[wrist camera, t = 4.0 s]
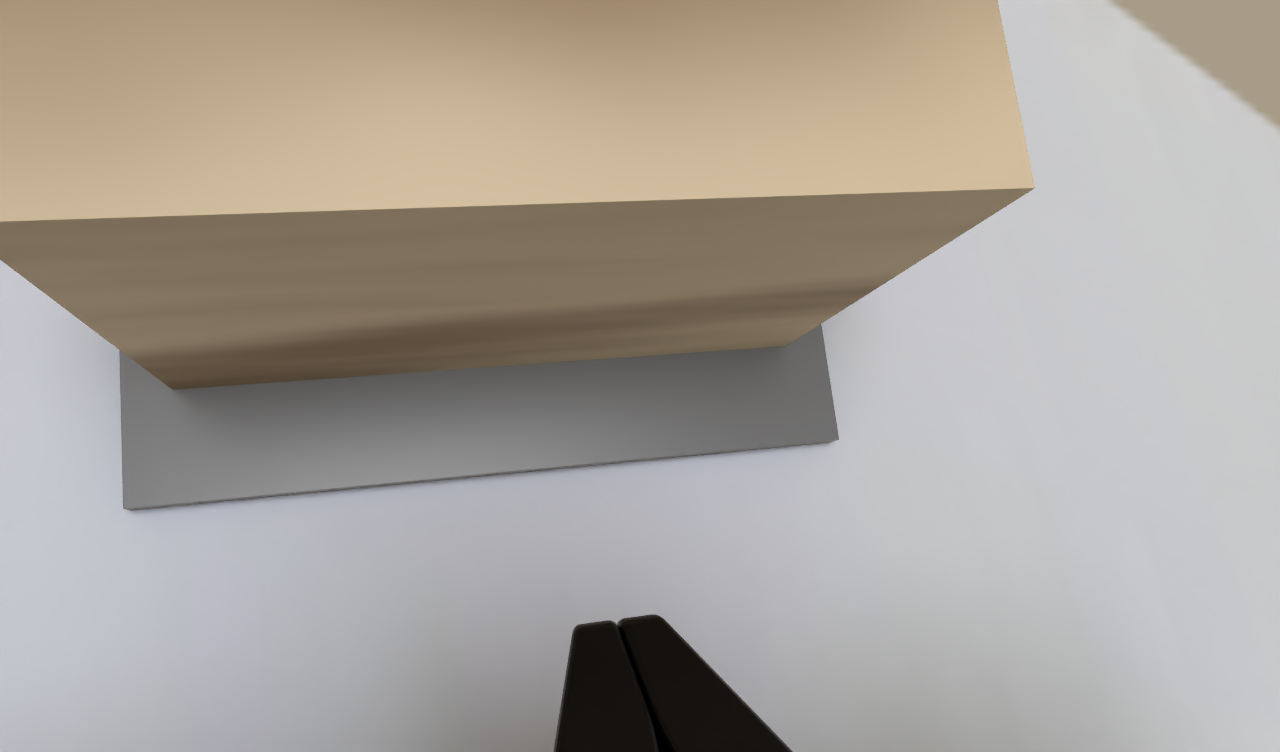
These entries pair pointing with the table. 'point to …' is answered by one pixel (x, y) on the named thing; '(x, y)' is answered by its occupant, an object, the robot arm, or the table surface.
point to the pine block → (487, 173)
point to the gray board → (463, 422)
